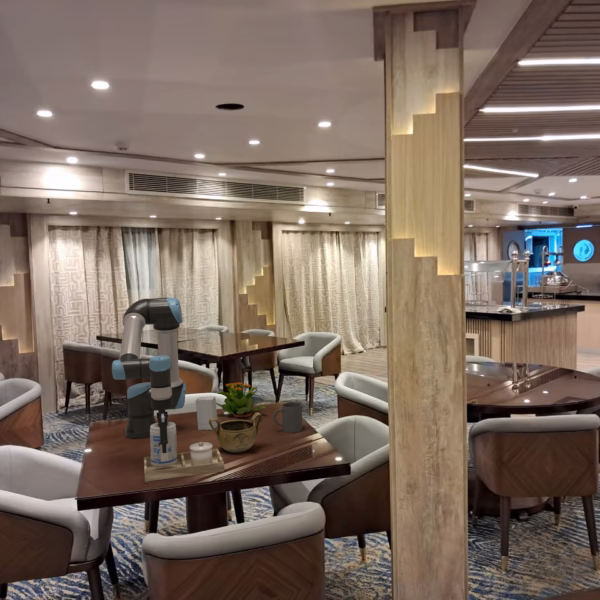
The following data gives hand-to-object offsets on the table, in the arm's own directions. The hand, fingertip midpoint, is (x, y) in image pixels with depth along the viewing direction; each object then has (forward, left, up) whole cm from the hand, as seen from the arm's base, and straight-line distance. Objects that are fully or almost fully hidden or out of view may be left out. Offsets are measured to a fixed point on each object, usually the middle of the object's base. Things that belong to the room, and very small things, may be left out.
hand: (164, 456), depth 207 cm
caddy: (0, +7, -6) cm, 9 cm away
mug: (-34, +57, -6) cm, 67 cm away
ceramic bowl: (-15, +30, -6) cm, 34 cm away
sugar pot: (0, +14, -5) cm, 15 cm away
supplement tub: (0, 0, -3) cm, 3 cm away
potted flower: (-68, +42, -6) cm, 80 cm away
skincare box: (-52, +22, -6) cm, 57 cm away
